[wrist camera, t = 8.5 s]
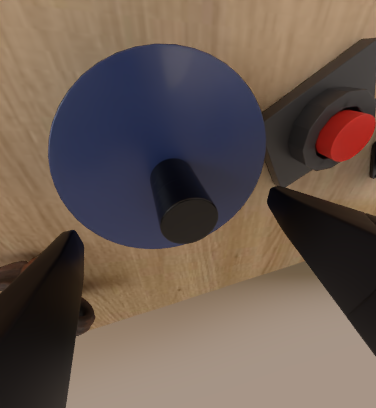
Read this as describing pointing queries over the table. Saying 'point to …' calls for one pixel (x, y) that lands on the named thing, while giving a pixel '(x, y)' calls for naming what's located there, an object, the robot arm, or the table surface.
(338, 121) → the button
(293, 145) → the switch block
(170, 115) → the lid
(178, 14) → the table surface
